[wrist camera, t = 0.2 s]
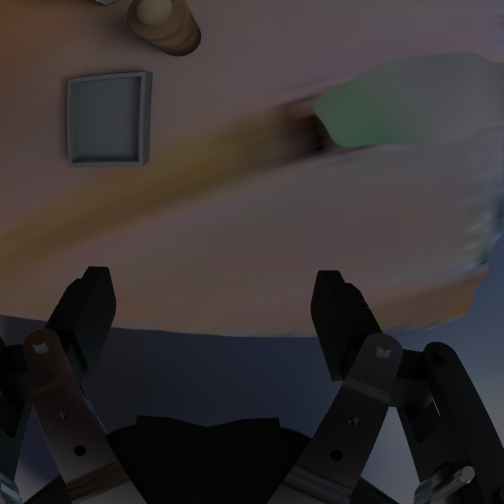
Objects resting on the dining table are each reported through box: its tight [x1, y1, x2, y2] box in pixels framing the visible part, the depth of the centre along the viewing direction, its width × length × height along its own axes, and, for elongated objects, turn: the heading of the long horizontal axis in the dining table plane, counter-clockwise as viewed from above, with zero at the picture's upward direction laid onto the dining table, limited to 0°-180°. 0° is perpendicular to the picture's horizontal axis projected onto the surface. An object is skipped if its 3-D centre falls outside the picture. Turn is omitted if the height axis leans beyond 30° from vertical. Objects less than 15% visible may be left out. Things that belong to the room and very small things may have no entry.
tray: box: [67, 72, 153, 167], centre depth 32 cm, size 11×10×3 cm
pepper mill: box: [127, 0, 201, 56], centre depth 23 cm, size 5×5×15 cm
